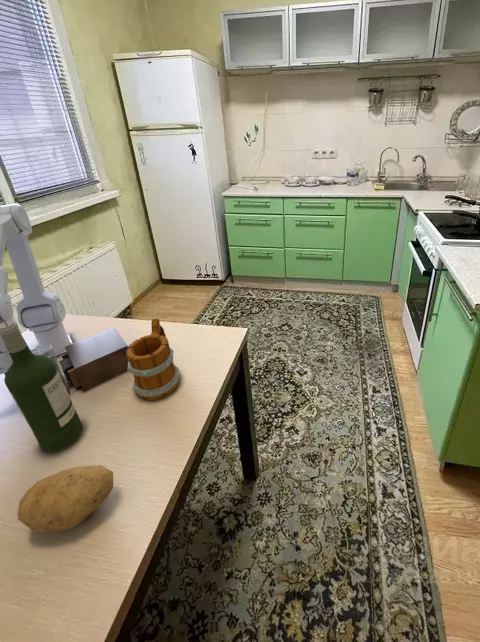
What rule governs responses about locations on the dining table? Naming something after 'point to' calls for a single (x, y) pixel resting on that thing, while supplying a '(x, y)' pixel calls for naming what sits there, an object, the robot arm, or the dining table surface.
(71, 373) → the drawer
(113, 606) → the dining table surface
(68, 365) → the block
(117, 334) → the cabinet
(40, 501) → the potato
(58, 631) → the dining table surface
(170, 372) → the mug
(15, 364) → the wine bottle
